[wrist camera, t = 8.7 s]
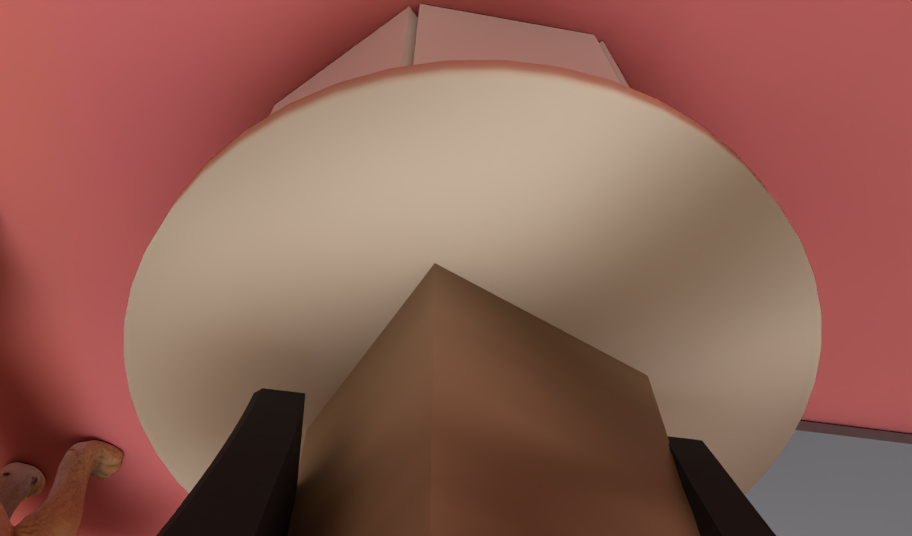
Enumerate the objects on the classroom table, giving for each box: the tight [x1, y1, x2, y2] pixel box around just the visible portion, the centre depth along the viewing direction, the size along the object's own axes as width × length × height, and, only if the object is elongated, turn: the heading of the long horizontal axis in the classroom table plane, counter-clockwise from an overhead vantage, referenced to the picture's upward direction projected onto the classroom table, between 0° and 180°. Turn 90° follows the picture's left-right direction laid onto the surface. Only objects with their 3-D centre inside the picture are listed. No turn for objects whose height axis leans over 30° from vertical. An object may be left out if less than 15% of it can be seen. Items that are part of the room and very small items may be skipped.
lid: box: [124, 60, 821, 536], centre depth 10 cm, size 11×11×6 cm
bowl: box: [270, 4, 630, 115], centre depth 15 cm, size 9×9×4 cm
